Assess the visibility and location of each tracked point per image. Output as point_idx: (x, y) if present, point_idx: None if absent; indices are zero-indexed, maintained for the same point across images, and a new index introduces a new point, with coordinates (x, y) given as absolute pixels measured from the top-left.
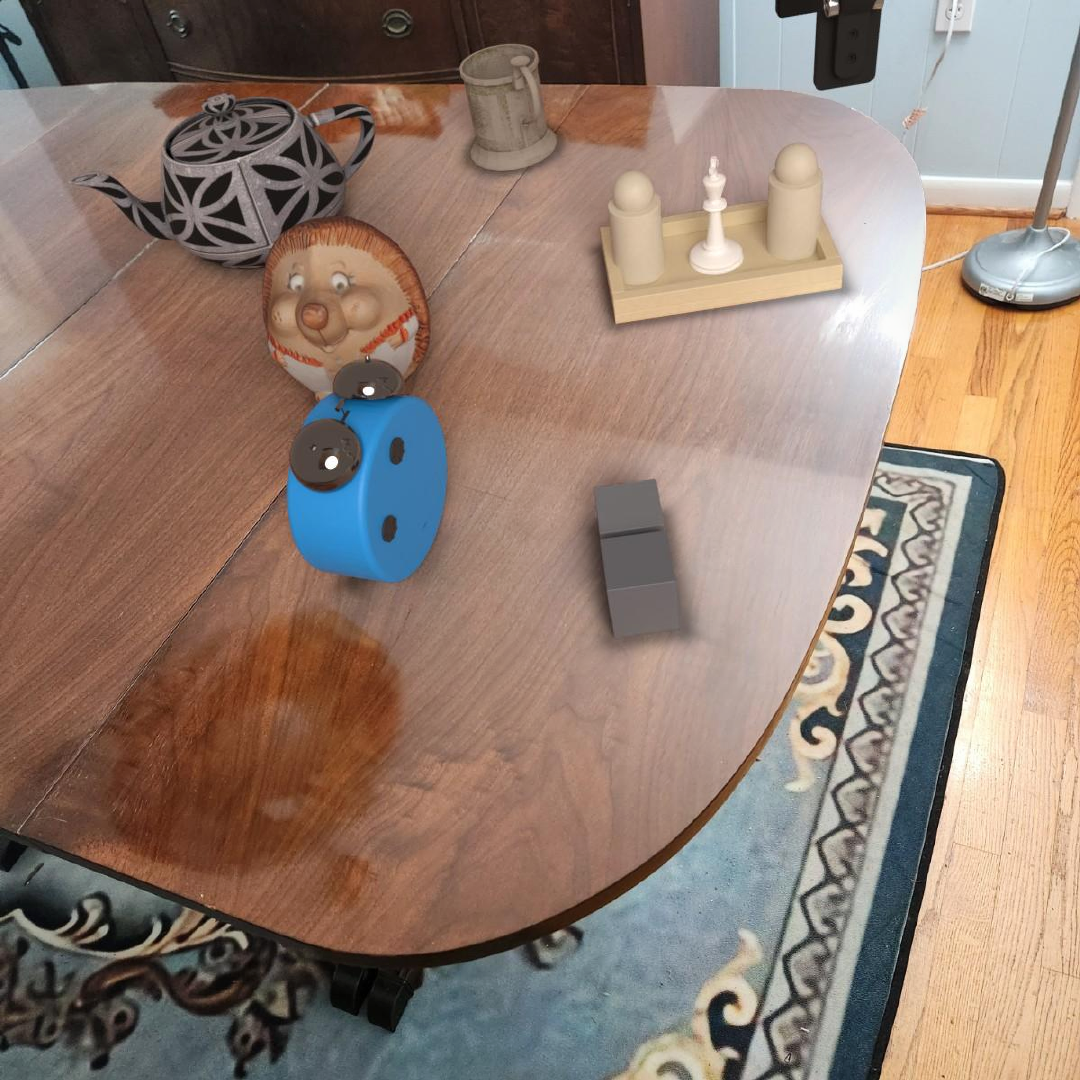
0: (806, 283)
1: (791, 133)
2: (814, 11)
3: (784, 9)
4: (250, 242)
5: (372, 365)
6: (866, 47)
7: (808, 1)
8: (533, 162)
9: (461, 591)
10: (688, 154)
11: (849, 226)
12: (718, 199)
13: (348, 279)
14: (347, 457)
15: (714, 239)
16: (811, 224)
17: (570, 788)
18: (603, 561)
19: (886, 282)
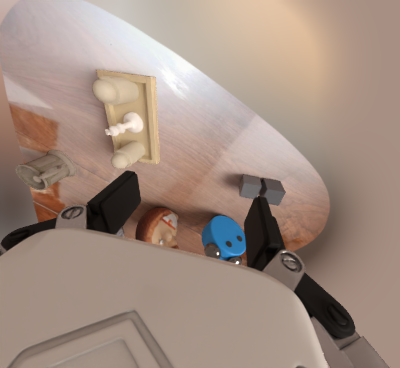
0: (154, 94)
1: (36, 51)
2: (137, 181)
3: (138, 202)
4: (121, 235)
5: (213, 256)
6: (279, 230)
7: (134, 191)
8: (71, 160)
9: (243, 214)
10: (60, 106)
11: (112, 53)
12: (120, 128)
13: (160, 240)
14: (239, 261)
15: (131, 126)
16: (128, 85)
17: (305, 210)
18: (268, 203)
19: (155, 54)
